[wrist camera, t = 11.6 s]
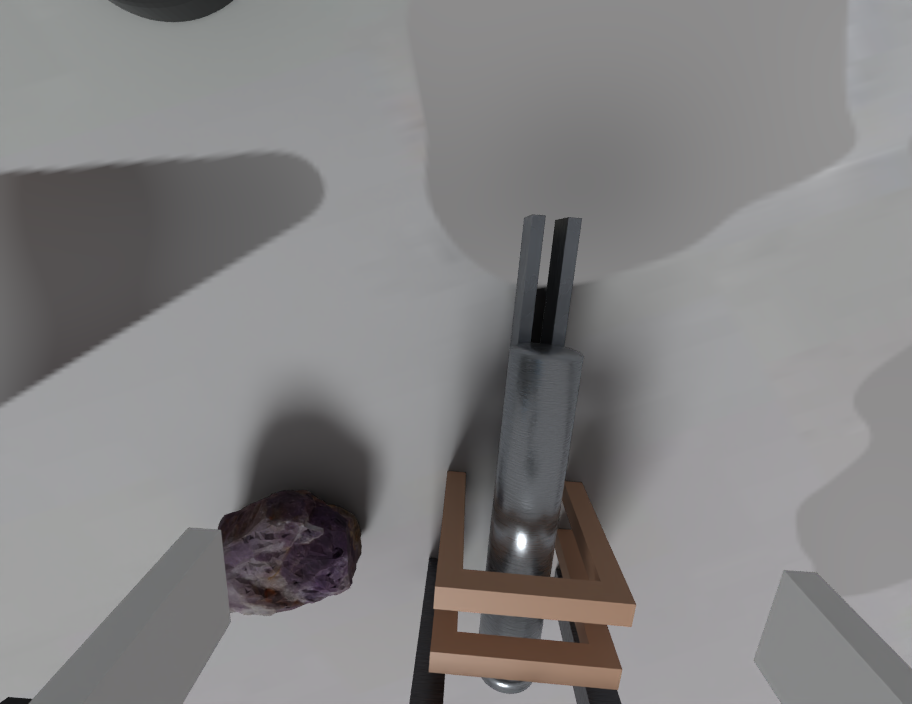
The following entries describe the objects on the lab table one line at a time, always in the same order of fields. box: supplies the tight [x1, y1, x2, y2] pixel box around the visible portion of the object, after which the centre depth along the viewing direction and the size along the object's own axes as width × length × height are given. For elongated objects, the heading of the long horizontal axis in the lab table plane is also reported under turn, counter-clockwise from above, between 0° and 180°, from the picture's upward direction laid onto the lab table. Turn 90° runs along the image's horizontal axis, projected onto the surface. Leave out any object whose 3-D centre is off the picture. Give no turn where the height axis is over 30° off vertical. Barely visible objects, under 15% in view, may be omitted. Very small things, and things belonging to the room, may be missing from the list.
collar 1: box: [433, 471, 636, 627], centre depth 31 cm, size 2×11×12 cm, turn 86°
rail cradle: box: [510, 215, 582, 347], centre depth 33 cm, size 32×3×4 cm, turn 176°
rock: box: [218, 490, 362, 616], centre depth 34 cm, size 12×9×10 cm
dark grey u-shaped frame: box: [409, 558, 621, 704], centre depth 31 cm, size 2×13×15 cm, turn 86°
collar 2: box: [429, 529, 622, 690], centre depth 32 cm, size 2×11×12 cm, turn 85°
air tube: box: [479, 343, 584, 694], centre depth 30 cm, size 24×4×4 cm, turn 176°
